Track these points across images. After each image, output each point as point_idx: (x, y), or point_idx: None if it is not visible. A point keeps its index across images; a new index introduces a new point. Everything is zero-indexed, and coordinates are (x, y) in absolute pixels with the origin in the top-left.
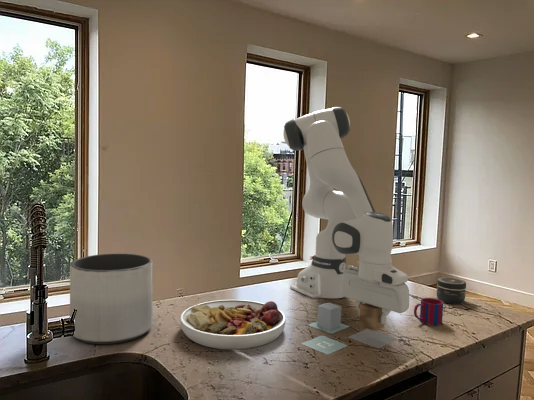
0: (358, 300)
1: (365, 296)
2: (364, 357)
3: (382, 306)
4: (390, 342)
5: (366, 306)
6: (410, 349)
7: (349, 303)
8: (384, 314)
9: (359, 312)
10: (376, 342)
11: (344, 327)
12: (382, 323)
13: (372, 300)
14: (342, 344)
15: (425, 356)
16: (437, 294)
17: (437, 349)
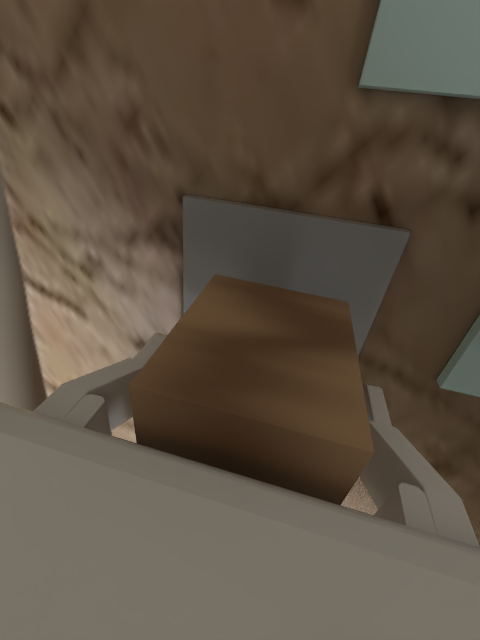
0: (428, 540)
1: (289, 631)
2: (192, 6)
3: (24, 431)
4: (184, 310)
5: (265, 432)
6: (112, 307)
7: None
8: (92, 376)
9: (359, 372)
10: (231, 269)
11: (471, 361)
12: (157, 333)
13: (150, 529)
14: (410, 57)
15: (44, 279)
16: None
17: (67, 358)
